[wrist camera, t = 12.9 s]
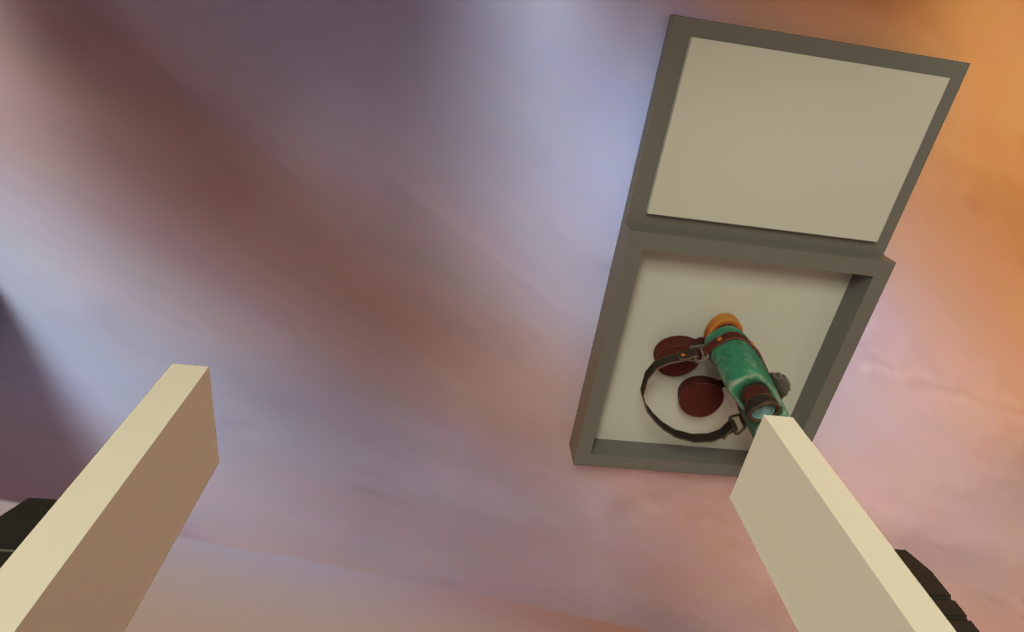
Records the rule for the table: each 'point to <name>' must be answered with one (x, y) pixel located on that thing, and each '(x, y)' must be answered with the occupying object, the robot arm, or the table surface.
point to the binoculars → (737, 373)
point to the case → (754, 227)
